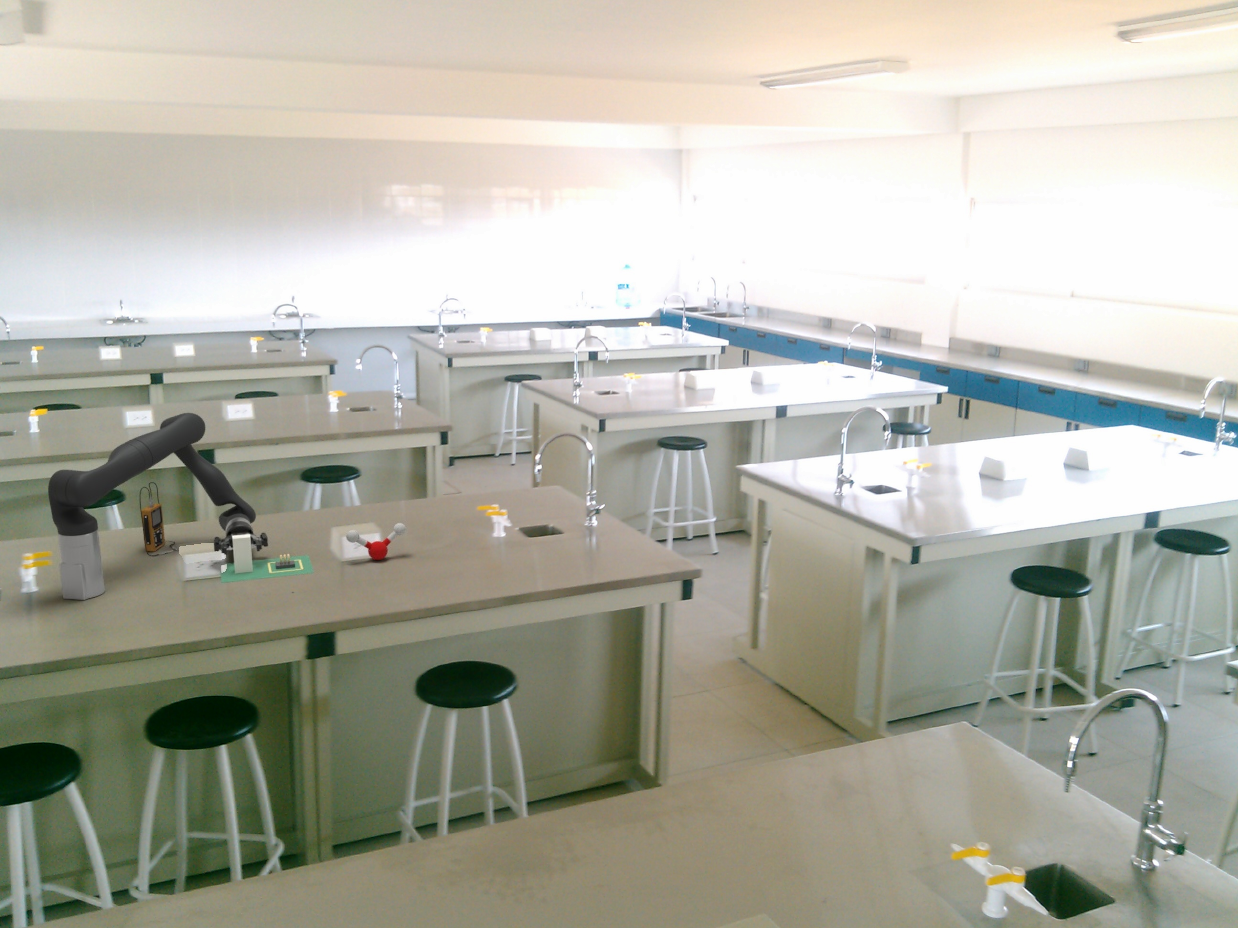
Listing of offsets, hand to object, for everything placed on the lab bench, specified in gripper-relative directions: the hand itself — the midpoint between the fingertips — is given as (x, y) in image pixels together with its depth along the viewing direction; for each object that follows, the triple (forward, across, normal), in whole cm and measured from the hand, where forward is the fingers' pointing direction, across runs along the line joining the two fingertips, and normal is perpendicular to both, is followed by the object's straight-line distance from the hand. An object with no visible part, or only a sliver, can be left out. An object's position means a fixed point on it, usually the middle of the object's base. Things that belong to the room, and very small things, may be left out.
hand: (242, 549), depth 276 cm
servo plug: (+1, 0, +6) cm, 6 cm away
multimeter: (-32, -20, +8) cm, 38 cm away
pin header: (+1, +11, +6) cm, 13 cm away
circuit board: (+1, +6, +8) cm, 10 cm away
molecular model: (-1, +37, +8) cm, 38 cm away
